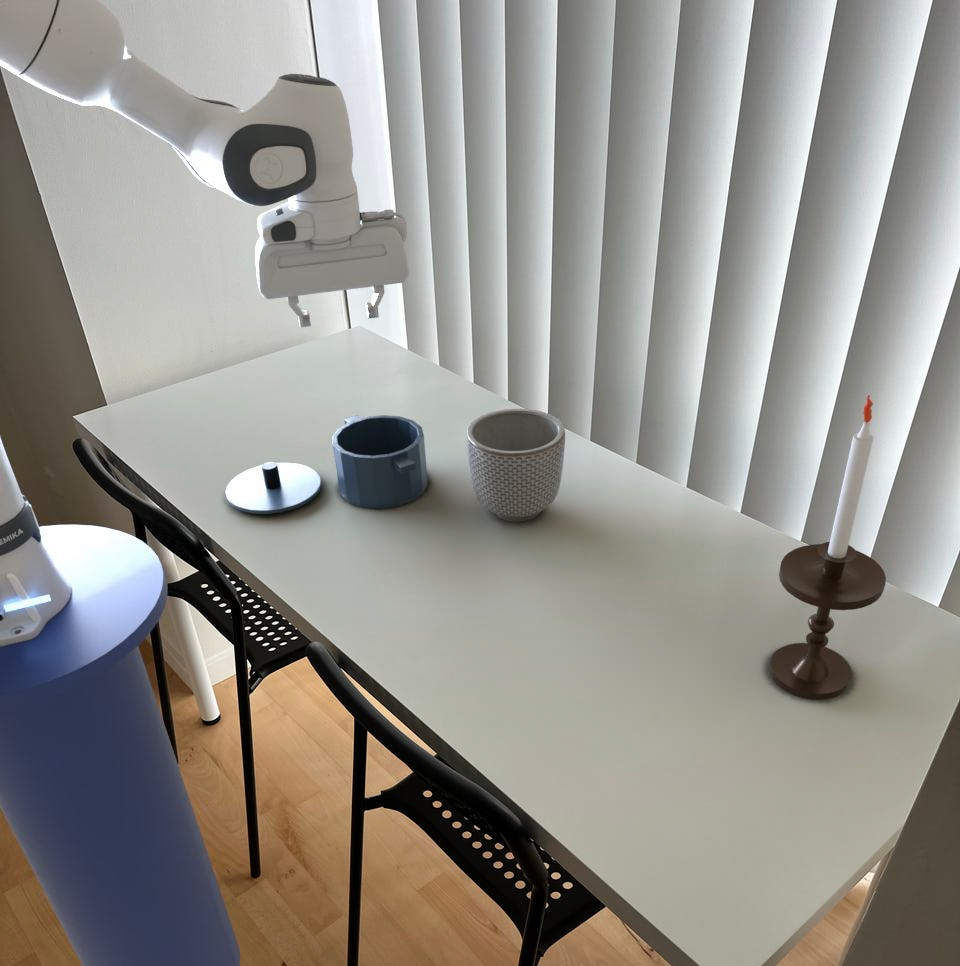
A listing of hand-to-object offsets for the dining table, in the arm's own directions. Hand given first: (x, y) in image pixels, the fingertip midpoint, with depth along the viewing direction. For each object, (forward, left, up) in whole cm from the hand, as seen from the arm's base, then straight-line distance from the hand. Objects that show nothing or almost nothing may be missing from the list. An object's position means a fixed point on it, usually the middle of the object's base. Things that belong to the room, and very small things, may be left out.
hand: (339, 321), depth 136 cm
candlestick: (+24, -70, -26) cm, 78 cm away
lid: (-12, +6, -26) cm, 29 cm away
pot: (+3, -2, -26) cm, 26 cm away
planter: (+16, -20, -26) cm, 37 cm away
